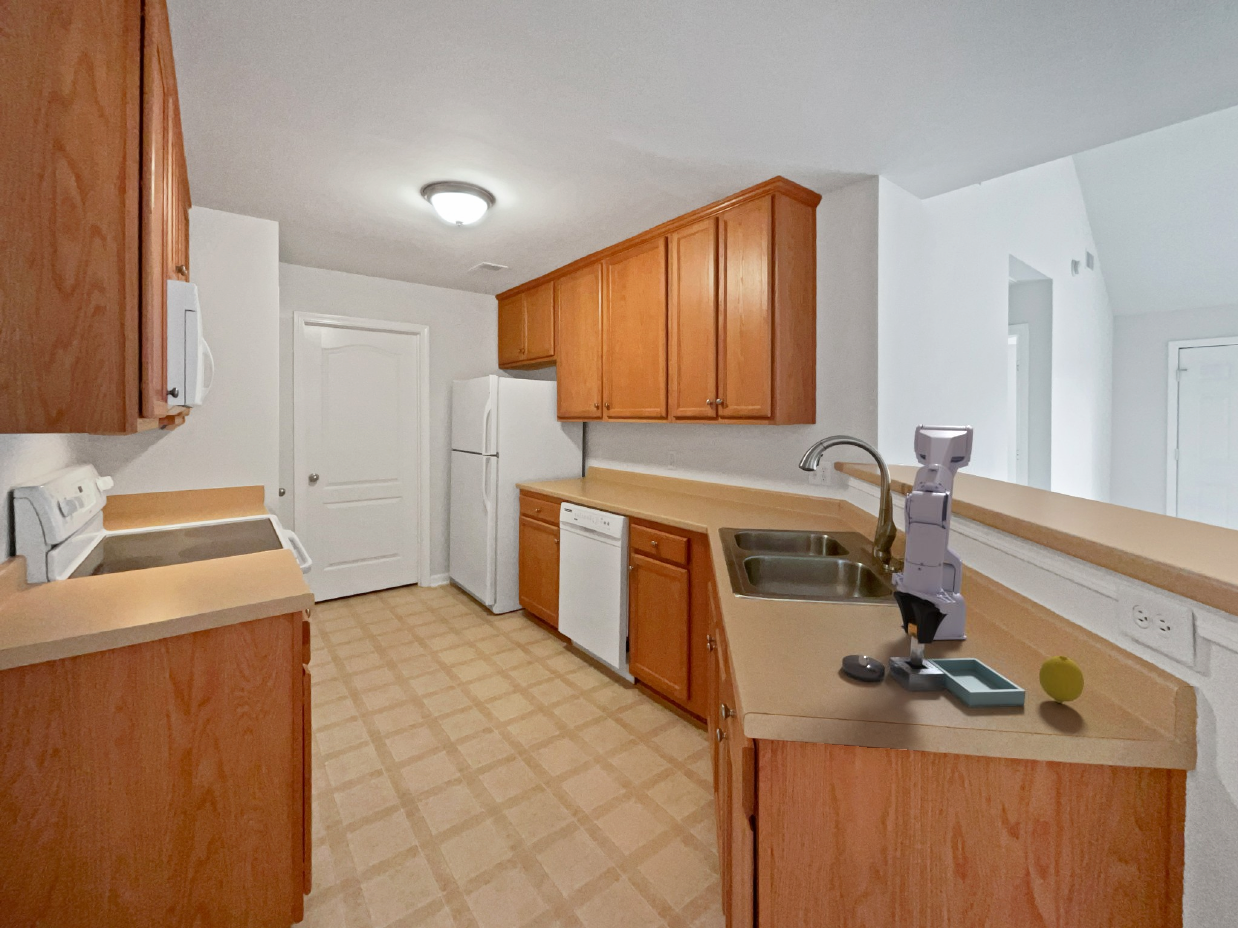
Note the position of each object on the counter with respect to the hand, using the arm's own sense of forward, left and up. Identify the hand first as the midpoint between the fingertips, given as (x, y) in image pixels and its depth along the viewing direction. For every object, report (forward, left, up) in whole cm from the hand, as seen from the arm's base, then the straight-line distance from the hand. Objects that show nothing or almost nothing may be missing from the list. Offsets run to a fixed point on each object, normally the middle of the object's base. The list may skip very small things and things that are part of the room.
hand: (918, 637), depth 92 cm
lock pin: (0, 0, -4) cm, 4 cm away
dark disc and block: (+4, -2, -8) cm, 9 cm away
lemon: (-19, +8, -8) cm, 22 cm away
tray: (-8, +3, -8) cm, 12 cm away
